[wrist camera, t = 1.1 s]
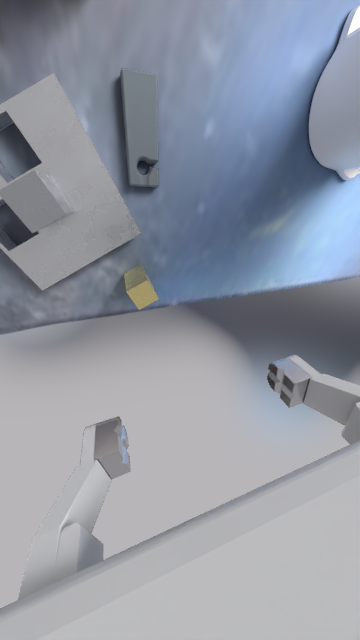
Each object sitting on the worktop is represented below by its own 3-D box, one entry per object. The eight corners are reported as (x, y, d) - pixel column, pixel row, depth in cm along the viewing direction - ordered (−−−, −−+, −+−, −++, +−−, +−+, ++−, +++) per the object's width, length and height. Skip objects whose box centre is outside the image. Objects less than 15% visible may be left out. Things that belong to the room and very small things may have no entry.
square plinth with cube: (60, 87, 22) (37, 38, 15) (139, 230, 31) (146, 239, 24) (-67, 162, 22) (-144, 147, 16) (48, 283, 31) (30, 306, 24)
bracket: (154, 82, 24) (157, 73, 22) (156, 187, 29) (159, 187, 28) (119, 75, 23) (120, 66, 21) (128, 186, 28) (129, 185, 27)
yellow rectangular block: (140, 263, 33) (147, 279, 27) (150, 279, 35) (159, 298, 29) (123, 273, 33) (126, 292, 27) (134, 289, 35) (139, 310, 29)
